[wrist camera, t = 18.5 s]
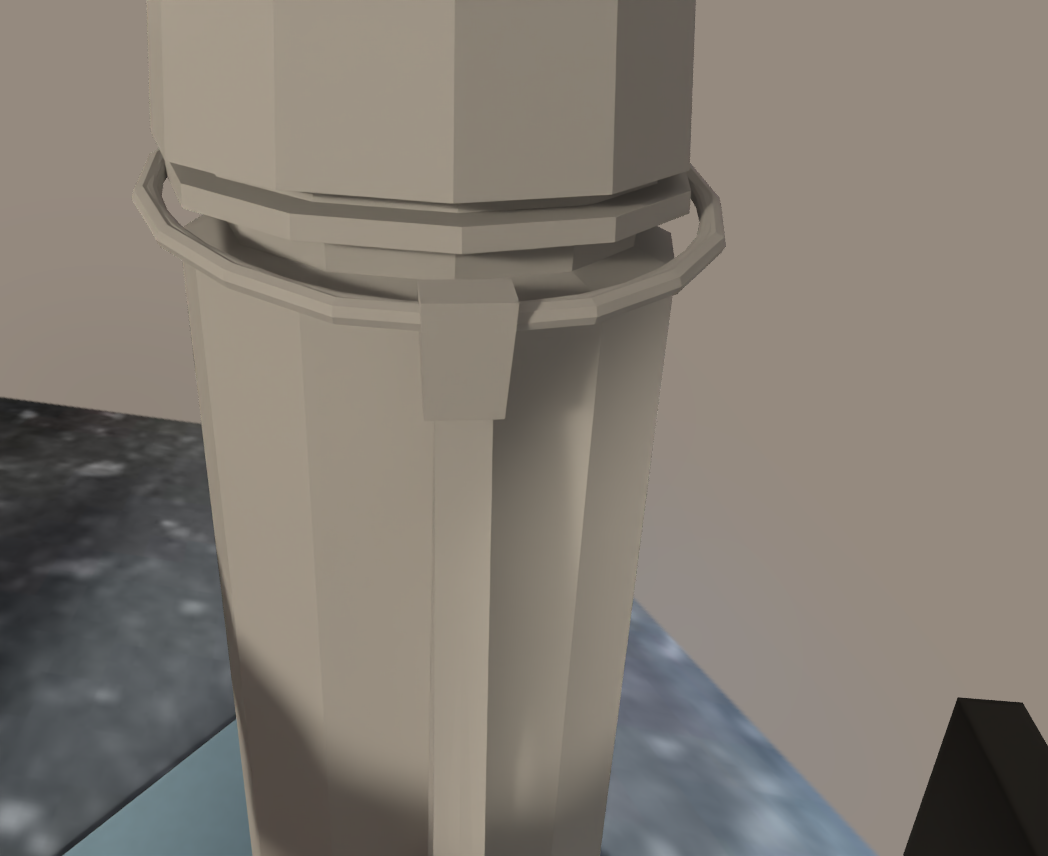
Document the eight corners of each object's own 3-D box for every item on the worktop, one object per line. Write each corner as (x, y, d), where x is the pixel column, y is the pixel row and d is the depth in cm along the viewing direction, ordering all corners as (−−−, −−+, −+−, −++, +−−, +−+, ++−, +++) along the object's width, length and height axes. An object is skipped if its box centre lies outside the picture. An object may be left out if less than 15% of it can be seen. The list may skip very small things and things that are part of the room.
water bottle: (270, 908, 25) (148, -218, 14) (559, 876, 26) (667, -175, 15) (232, 1366, 17) (-146, -436, 6) (649, 1289, 18) (1032, -302, 7)
